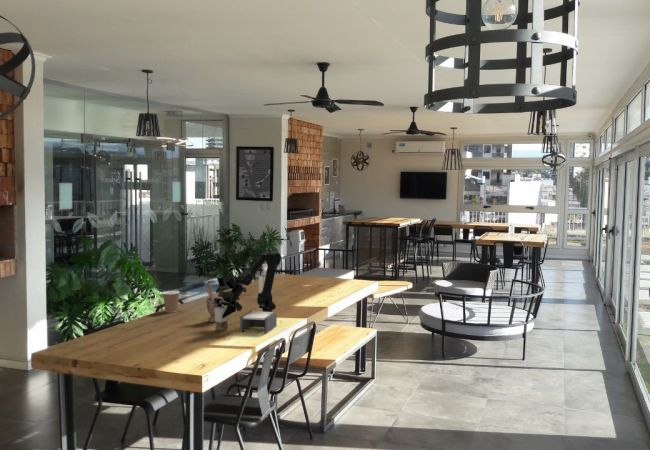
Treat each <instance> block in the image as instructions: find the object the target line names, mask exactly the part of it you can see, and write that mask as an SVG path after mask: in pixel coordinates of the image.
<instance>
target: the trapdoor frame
mask: <svg viewBox="0 0 650 450" xmlns="http://www.w3.org/2000/svg"><path fill="white" fill-rule="evenodd" d="M252 311H253V310H250V311H248V312H247V313H245V314H243V315H241V316H240V317H239V328H240V329H239V330H240V331H239V332H240V333H243V332H245V331H246V330H248V329H249V328H250V327H252V326H260V327H264V333H265V334H268V333H270V332H271V331H272V330H273V329H275V328H276V327H277V326H278V325H277V323H278V322H277V311H274V312H273V313H272V314H271V315H269V316H268V317H266V318H265V320H254V319H243V317H244V316H246V315H247V314H249V313H251V312H252ZM242 331H243V332H242Z"/></svg>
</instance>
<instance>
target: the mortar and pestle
mask: <svg viewBox="0 0 650 450" xmlns="http://www.w3.org/2000/svg"><path fill="white" fill-rule="evenodd" d="M205 290H206V291H207V294H208V296H209V298H206V308H207V312H208V314H210V317H208V320H207V321H208V322H210V323H216V321H215V308H218V305H217V304H216V303H215V302H214V299H215V298H216V297H214V294H213V290H212V287H211V286H210V285H207V286H205ZM220 298H221V299H222V297H220ZM222 300H223V299H222Z"/></svg>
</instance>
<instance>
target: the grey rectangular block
mask: <svg viewBox="0 0 650 450" xmlns="http://www.w3.org/2000/svg"><path fill="white" fill-rule="evenodd" d="M226 309H227V307H226V306H225V307H218V308H215V321H217V322H225V321H227V322H228V321H229V315H228V316H226V317H225V318H222V316H223V314H224V312H225V310H226Z"/></svg>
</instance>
